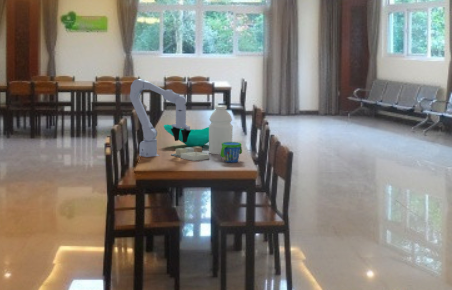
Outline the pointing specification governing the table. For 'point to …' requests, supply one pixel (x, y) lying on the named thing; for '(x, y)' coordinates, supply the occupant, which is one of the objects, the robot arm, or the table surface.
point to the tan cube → (197, 149)
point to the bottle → (219, 129)
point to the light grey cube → (189, 149)
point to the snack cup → (231, 151)
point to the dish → (194, 156)
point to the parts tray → (178, 155)
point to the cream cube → (180, 151)
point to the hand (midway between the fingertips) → (180, 141)
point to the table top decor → (192, 136)
